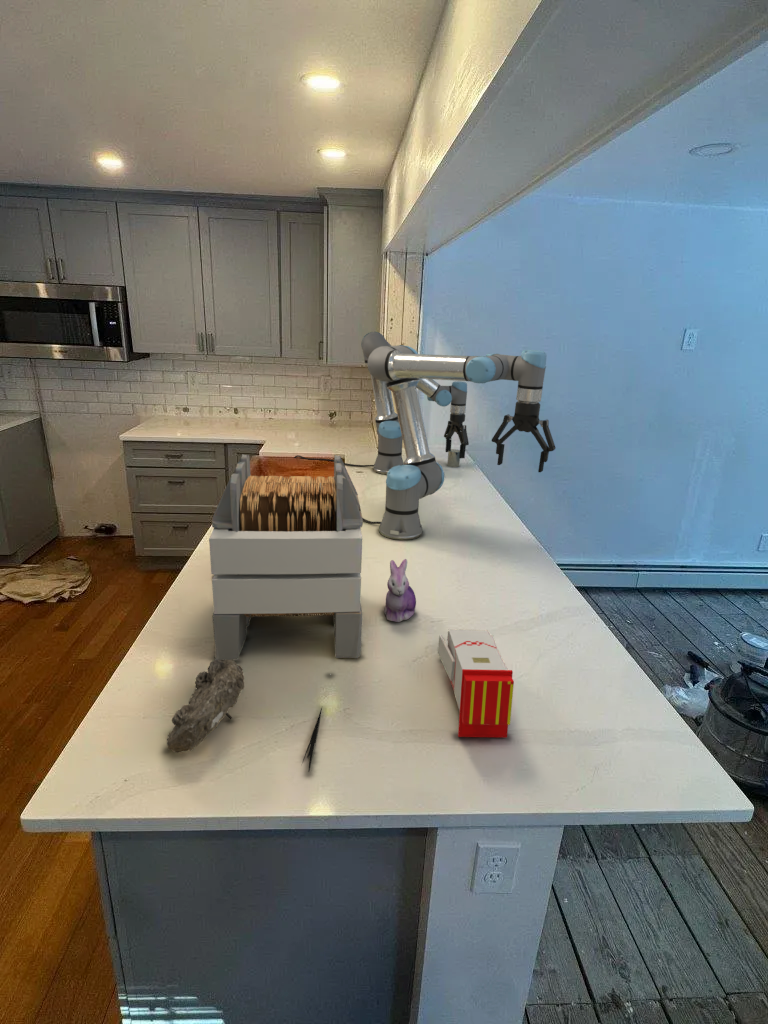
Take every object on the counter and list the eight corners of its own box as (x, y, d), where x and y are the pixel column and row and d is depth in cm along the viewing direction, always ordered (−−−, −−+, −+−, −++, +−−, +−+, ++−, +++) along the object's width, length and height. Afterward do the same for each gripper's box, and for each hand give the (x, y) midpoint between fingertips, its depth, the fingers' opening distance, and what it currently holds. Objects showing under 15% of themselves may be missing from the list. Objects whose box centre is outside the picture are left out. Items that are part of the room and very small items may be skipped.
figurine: (392, 627, 141) (395, 572, 136) (374, 608, 149) (376, 556, 144) (425, 619, 145) (429, 566, 140) (405, 601, 154) (408, 550, 149)
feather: (331, 679, 122) (336, 673, 122) (307, 777, 96) (313, 769, 95) (324, 675, 122) (329, 669, 121) (298, 772, 95) (304, 764, 95)
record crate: (234, 590, 156) (226, 444, 142) (353, 588, 159) (357, 447, 146) (212, 662, 124) (200, 485, 110) (361, 659, 128) (367, 486, 114)
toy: (488, 613, 130) (523, 677, 101) (484, 667, 133) (517, 744, 104) (435, 612, 130) (455, 676, 101) (432, 666, 133) (451, 743, 103)
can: (461, 466, 290) (463, 451, 288) (452, 467, 287) (453, 452, 285) (454, 463, 295) (455, 448, 293) (444, 464, 292) (446, 449, 290)
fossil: (192, 660, 117) (244, 628, 112) (224, 691, 120) (276, 661, 115) (142, 746, 98) (202, 712, 93) (182, 779, 101) (242, 748, 96)
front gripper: (571, 405, 174) (561, 472, 181) (494, 396, 185) (487, 459, 193) (565, 408, 168) (555, 477, 175) (486, 398, 179) (479, 463, 186)
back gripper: (478, 417, 273) (474, 460, 280) (451, 408, 294) (448, 448, 301) (464, 418, 270) (461, 461, 277) (438, 409, 291) (436, 449, 299)
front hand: (519, 467), depth 184 cm, fingers open, 13 cm apart
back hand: (454, 455), depth 289 cm, fingers open, 13 cm apart
